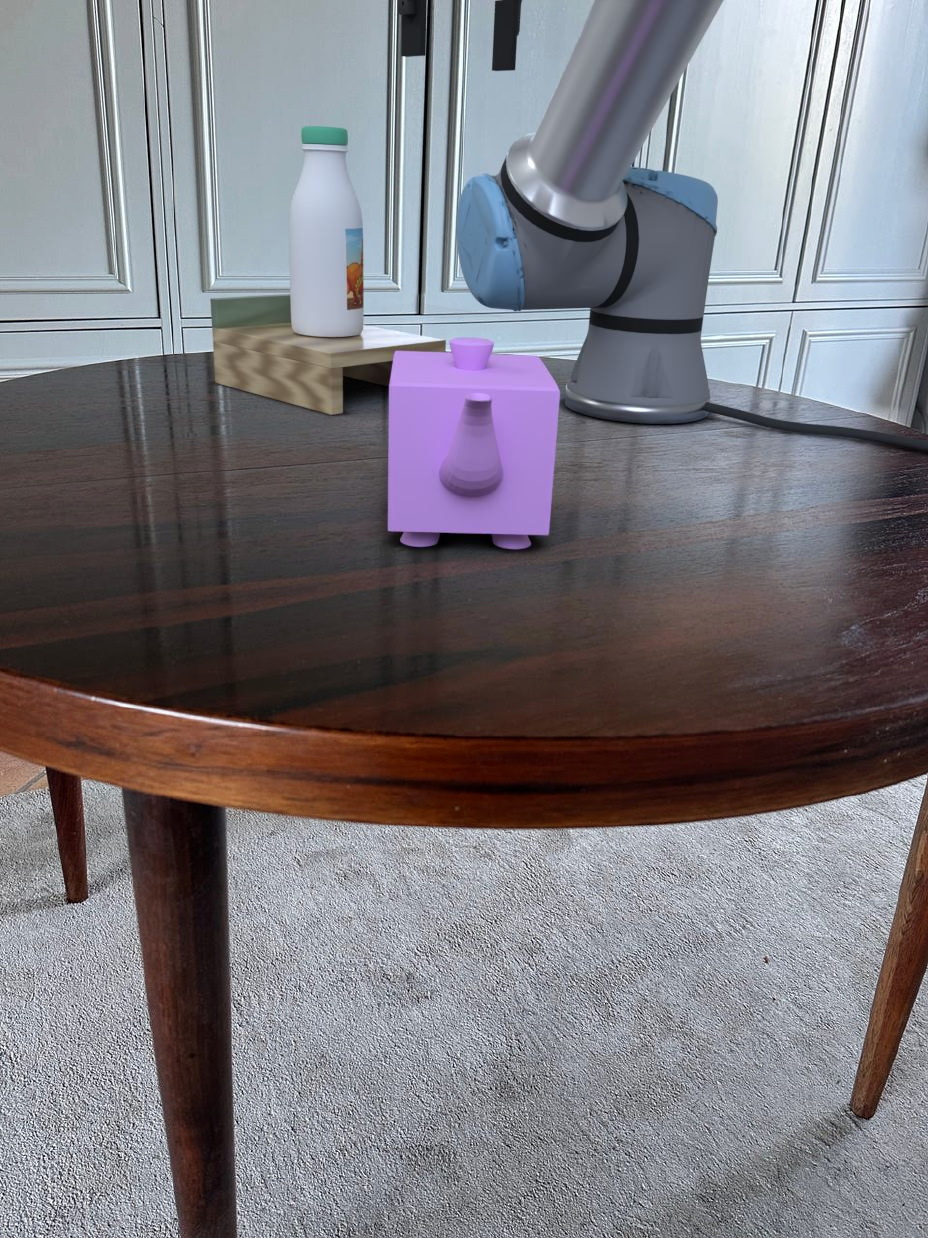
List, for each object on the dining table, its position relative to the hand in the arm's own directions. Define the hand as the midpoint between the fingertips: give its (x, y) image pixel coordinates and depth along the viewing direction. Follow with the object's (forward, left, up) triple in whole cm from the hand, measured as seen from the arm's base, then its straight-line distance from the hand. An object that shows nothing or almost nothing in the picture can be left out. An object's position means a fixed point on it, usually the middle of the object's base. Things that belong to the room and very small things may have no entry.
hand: (460, 63), depth 102 cm
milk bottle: (+5, +14, -27) cm, 31 cm away
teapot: (-38, +38, -33) cm, 63 cm away
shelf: (+5, +14, -33) cm, 36 cm away
